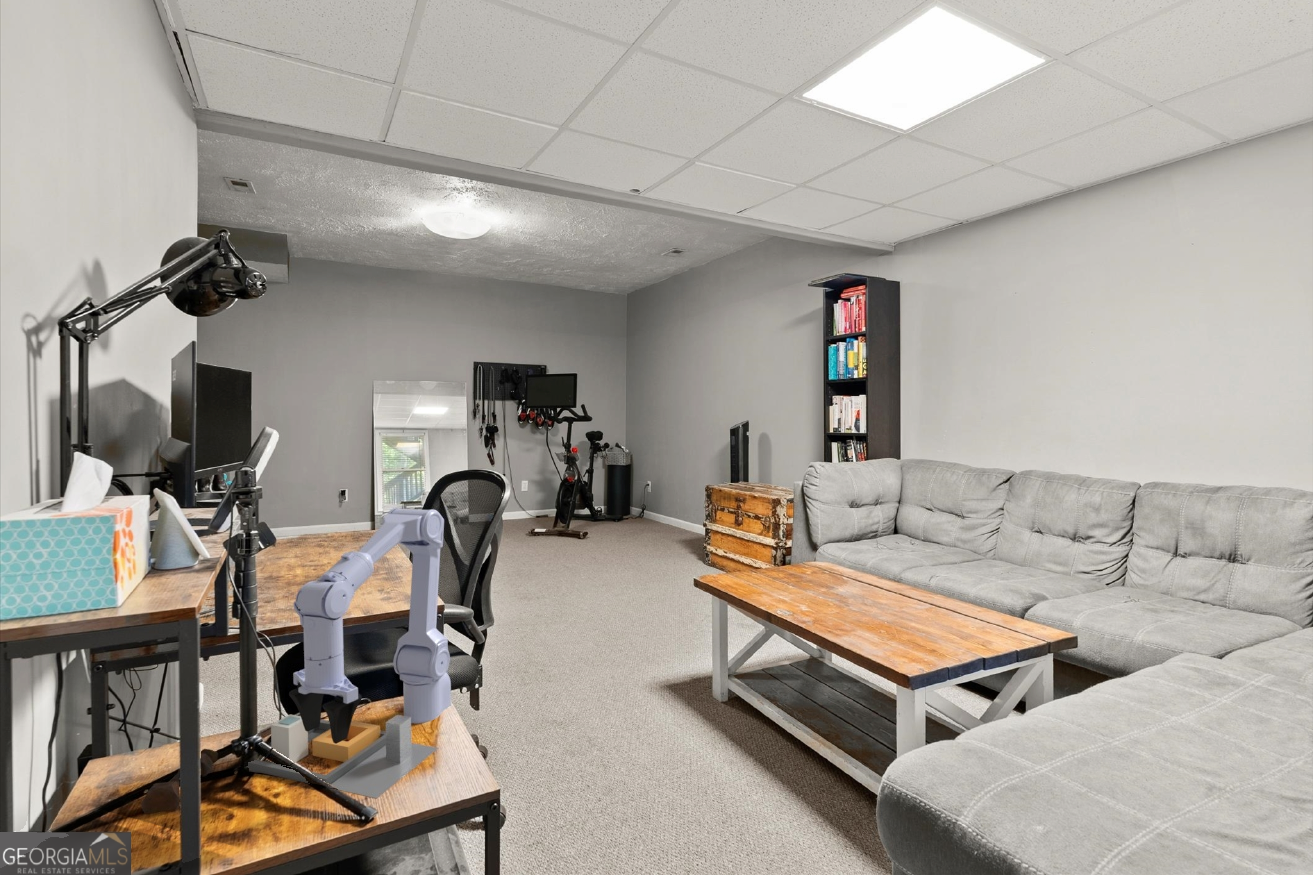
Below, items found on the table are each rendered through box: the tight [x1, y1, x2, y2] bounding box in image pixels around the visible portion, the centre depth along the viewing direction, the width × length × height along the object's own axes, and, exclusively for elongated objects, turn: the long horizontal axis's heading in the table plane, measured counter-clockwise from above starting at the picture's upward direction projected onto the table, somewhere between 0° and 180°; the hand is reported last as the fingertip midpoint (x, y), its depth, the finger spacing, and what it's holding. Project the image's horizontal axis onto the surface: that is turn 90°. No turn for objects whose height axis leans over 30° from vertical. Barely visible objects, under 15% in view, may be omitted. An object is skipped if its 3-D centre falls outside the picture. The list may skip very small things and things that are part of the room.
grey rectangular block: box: [385, 714, 412, 764], centre depth 114 cm, size 3×3×7 cm
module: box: [270, 714, 309, 764], centre depth 114 cm, size 4×4×7 cm
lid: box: [330, 742, 439, 800], centre depth 111 cm, size 16×11×1 cm, turn 163°
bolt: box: [140, 748, 219, 815], centre depth 106 cm, size 6×5×15 cm
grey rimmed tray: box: [248, 718, 386, 785], centre depth 116 cm, size 16×18×4 cm
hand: (326, 734), depth 105 cm, fingers open, 7 cm apart
